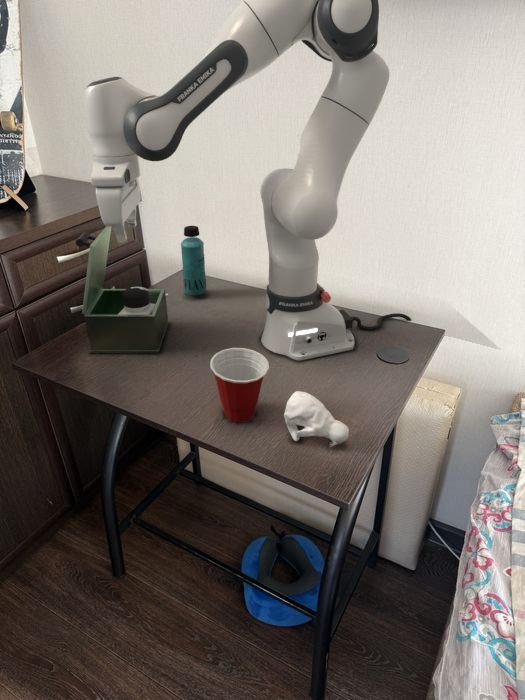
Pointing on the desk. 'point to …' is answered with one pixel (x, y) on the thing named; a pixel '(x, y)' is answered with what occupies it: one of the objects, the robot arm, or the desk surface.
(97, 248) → the lid
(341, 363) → the desk surface
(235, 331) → the desk surface
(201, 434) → the desk surface
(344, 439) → the white figurine
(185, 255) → the beverage bottle
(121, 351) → the green open box
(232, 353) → the plastic cup
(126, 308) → the medicine bottle
